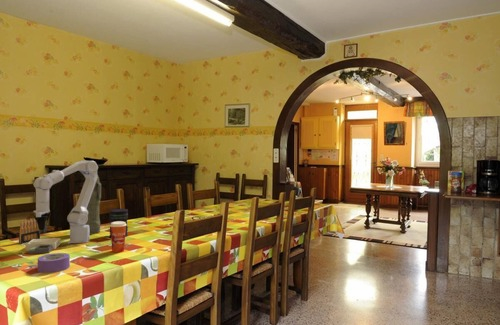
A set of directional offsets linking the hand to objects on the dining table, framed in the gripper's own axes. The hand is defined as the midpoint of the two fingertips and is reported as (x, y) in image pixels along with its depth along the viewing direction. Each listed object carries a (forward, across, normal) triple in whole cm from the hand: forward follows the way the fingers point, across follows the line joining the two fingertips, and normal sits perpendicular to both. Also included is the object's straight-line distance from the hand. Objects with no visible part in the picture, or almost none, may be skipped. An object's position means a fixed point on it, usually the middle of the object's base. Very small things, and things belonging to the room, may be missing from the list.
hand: (42, 229), depth 177 cm
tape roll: (+10, +32, +13) cm, 36 cm away
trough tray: (+10, -4, -1) cm, 11 cm away
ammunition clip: (+10, -18, -11) cm, 23 cm away
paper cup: (+10, +11, +36) cm, 39 cm away
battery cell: (+2, 0, 0) cm, 2 cm away
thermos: (+10, -33, +18) cm, 39 cm away
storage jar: (+10, -22, +34) cm, 41 cm away
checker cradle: (+10, +5, 0) cm, 11 cm away
